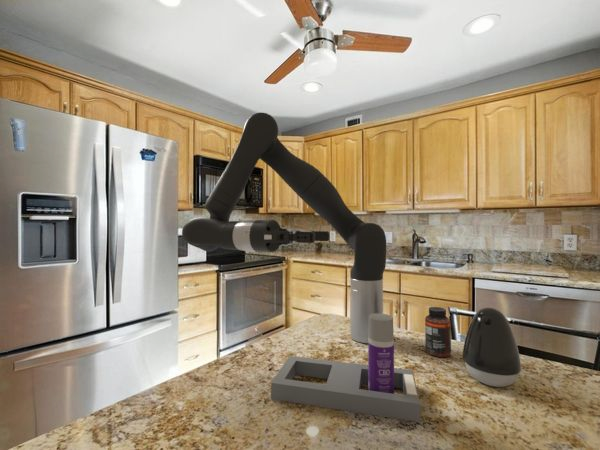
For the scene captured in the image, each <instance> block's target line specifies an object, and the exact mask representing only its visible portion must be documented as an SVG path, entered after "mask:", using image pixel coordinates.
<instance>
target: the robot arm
mask: <svg viewBox="0 0 600 450" xmlns="http://www.w3.org/2000/svg"><path fill="white" fill-rule="evenodd" d="M278 136H279V127H278V123H277V121H276V119H275V118H274V117H273V116H272V115H271V114H269V113H267V112H256V113H254V114H251V116H249V117H248V119H246V122H245V123H244V127H243V131H242V133H241V137H240V139H239V142H238V144H237V147H236V149H235V151H234V152H233V155H232V157H231V159H230V161H229V162H228V163H227V165H226V167H225V169H224V170H223V172H222V174H221V176H220V177H219V179H218V181H217V182H216V184H215V185H214V187H213V189H212V190H211V192H210V195H209V196H208V198H207V199H206V201H205V204H204V209H206V211H207V212H208V213H209V218H208V217H195V218H192V219H190V220H188V221H186V223H184V225H183V226H182V229H181V234H182V239H183V240H184V241H185V243H187V244H189V245H190V246H192V247H195V248H197V249H200V250H202V251H204V252H210V253H211V252H213V251H215V250H217V249H218V248H221V249H223V250H229V251H231V250H232V251H244V252H252V253H253V252H254V253H255V252H256V253H275V252H277V251H278V250H279V248H280V246H292V245H294V244H297V245H299V244H314V243H315V242H329V241H330V232H329V231H326V230H320V231H319V230H313V229H310V230H305V228H293V227H281V226H280V223H279V221H277V220H275V219H246V220H231V221H230V218H231V214H232V212H233V211H234V209H235V207H236V206H237V203H239V200H240V199H241V197H242V195H243V192H244V191H245V189H246V186H247V183H248V182H249V179H250V177H251V176H252V175H251V174H252V172H253V171H254V169H255V167H256V165H257V163H258V162H259V160H261V161H262V162H264V164H266V165H267V166H269V168H271V169H272V170H273V171H274V172H275V173H276V174H277V175H278V176H279V177H280V178H281V179H282V181H284V182H285V184H287V186H288V187H289V188H290V189H292V191H293V192H294V193H295V194H296V195H297V196H298V197H300V199H301V200H302V201H304V203H305V204H306V205H307V206H308V207H309V208H311V209H312V210H313V211H314V212H315V213H316V214H317V215H319V216H320V217H321V218H322V219H323V220H324V221H326V222H327V223H328V224H329V225H331V227H332V228H333V229H334V230H335V231H336V232H337V234H338V235H340V237H341V238H342V239H343V240H344V242H345V243H346V244H347V245H348V247H349V248H350V249H351V250H353V252H354V258H353V265H352V266H351V268H350V270H349V271H350V276H349V277H350V281H349V282H350V288H349V289H350V293H349V294H350V296H349V297H350V298H349V299H350V305H349V306H350V308H349V309H350V313H349V314H350V315H349V316H350V317H349V318H350V321H349V325H350V332H349V333H350V338H351V339H352V340H353V341H355V342H358V343H363V344H368V337H369V315H371V314H384V272H385V270H386V265H387V261H386V260H387V236H386V232H385V230H384V229H383V228H382V227H381V226H380V225H379V224H377V223H373V222H364V221H363V220H362V219H360V218H359V217H358V216H357V215H356V214H355V213H353V212H352V211H351V209H350V208H349V207H348V206H347V205H346V202H344V200H343V198H342V196H341V195H340V193H339V191H338V190H337V188H336V187H335V186H334V185H333V183H332V182H331V181H330V180H329V179H328V178H327V177H326V176H325V175H324V173H322V171H320V170H319V169H318V168H317V167H315V166H314V165H312V164H310V163H308V162H306V161H305V160H304V159H301V158H299V157H298V156H296V155H295V154H293V153H292V152H291V151H290V150H289V149H288V148H287V147H285V145H284V144H283V143H282V141H280V140H279V138H278Z"/></svg>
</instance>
